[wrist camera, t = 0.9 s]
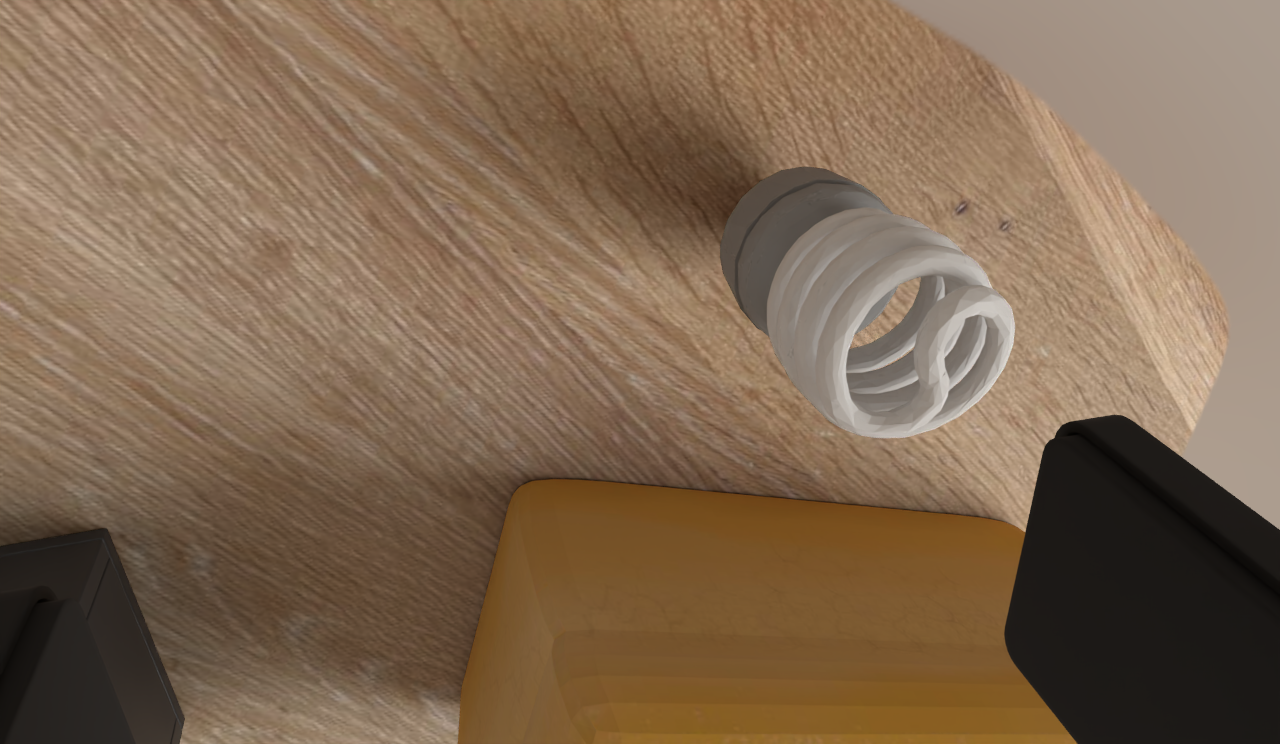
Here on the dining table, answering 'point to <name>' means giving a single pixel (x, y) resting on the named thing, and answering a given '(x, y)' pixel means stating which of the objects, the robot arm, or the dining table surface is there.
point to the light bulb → (863, 303)
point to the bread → (745, 624)
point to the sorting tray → (103, 622)
